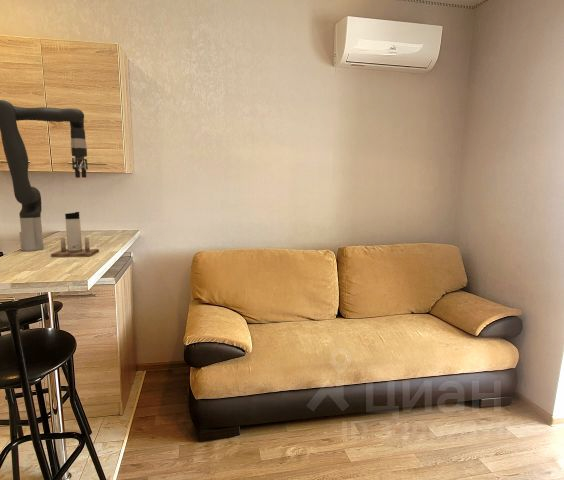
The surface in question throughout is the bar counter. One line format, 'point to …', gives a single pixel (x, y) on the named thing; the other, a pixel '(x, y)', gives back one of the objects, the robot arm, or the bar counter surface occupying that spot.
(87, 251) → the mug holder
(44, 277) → the bar counter surface
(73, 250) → the travel mug
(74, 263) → the bar counter surface
